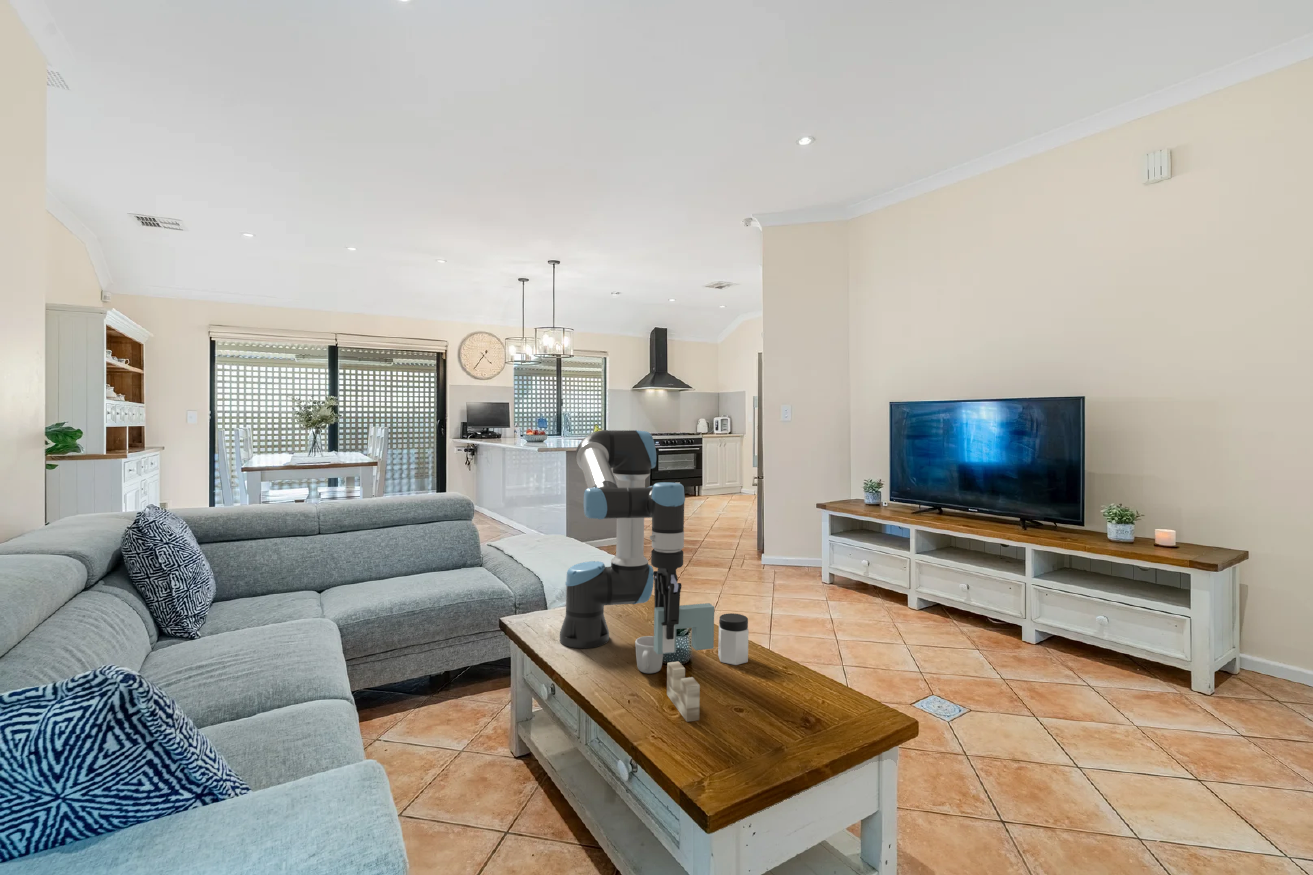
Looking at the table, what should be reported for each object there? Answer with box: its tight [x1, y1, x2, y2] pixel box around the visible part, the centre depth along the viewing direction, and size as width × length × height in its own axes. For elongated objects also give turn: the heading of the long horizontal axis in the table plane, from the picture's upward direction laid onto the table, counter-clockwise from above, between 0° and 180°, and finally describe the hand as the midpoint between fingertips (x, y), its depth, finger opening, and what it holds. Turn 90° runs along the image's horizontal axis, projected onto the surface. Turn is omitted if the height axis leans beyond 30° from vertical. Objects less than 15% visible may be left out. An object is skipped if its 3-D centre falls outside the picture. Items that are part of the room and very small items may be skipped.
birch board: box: [666, 661, 701, 723], centre depth 142 cm, size 14×3×8 cm, turn 18°
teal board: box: [653, 602, 715, 655], centre depth 142 cm, size 3×14×10 cm, turn 108°
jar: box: [717, 613, 749, 666], centre depth 172 cm, size 9×8×12 cm
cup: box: [634, 635, 664, 674], centre depth 162 cm, size 11×8×8 cm
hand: (665, 648), depth 140 cm, fingers closed on teal board, 3 cm apart
